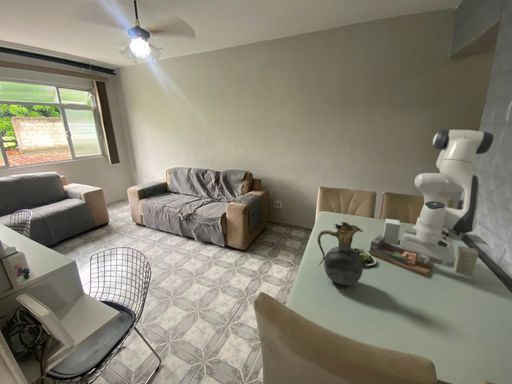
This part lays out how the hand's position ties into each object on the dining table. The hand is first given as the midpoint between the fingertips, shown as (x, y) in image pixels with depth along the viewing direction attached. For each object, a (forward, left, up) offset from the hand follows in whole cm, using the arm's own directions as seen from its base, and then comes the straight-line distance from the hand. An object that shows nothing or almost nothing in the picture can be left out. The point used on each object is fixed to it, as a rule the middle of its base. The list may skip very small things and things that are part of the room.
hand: (422, 261), depth 104 cm
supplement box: (-18, -20, -4) cm, 28 cm away
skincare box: (-10, +14, -4) cm, 17 cm away
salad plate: (+16, -24, -4) cm, 29 cm away
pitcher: (+40, -21, -4) cm, 45 cm away
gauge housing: (0, -9, -4) cm, 10 cm away
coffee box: (-14, +1, -4) cm, 15 cm away
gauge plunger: (+1, -5, -2) cm, 6 cm away
